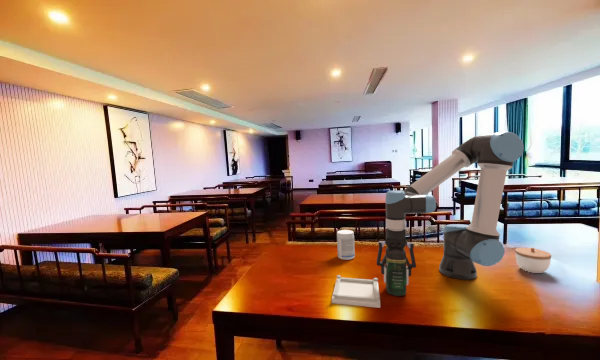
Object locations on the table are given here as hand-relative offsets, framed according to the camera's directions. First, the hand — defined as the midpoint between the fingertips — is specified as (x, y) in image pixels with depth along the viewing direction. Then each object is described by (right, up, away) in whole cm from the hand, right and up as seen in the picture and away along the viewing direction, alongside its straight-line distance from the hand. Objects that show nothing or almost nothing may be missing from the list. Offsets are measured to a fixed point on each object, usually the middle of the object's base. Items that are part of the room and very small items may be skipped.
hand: (395, 282), depth 108 cm
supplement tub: (-14, -2, +40) cm, 42 cm away
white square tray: (-17, -4, -1) cm, 17 cm away
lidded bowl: (+70, -1, +15) cm, 71 cm away
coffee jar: (0, -4, 0) cm, 4 cm away
